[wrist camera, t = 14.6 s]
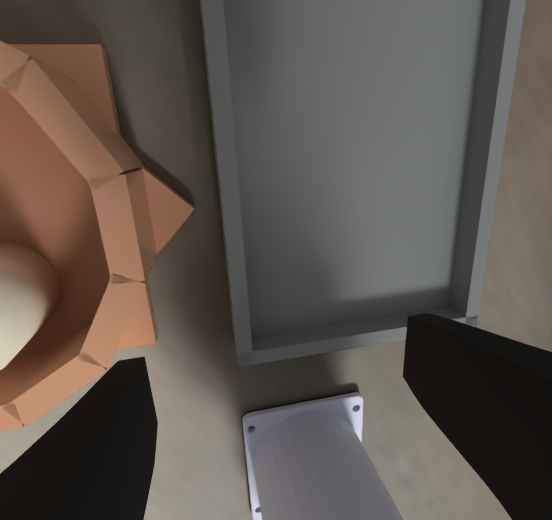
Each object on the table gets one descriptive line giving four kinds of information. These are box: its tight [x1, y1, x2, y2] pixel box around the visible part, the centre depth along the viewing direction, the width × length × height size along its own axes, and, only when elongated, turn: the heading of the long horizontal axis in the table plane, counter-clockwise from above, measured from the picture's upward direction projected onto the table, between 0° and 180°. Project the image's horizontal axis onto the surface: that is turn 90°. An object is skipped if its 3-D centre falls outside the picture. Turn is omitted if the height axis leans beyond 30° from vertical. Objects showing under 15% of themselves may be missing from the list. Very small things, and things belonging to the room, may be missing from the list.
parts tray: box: [199, 0, 526, 367], centre depth 17 cm, size 20×14×2 cm
